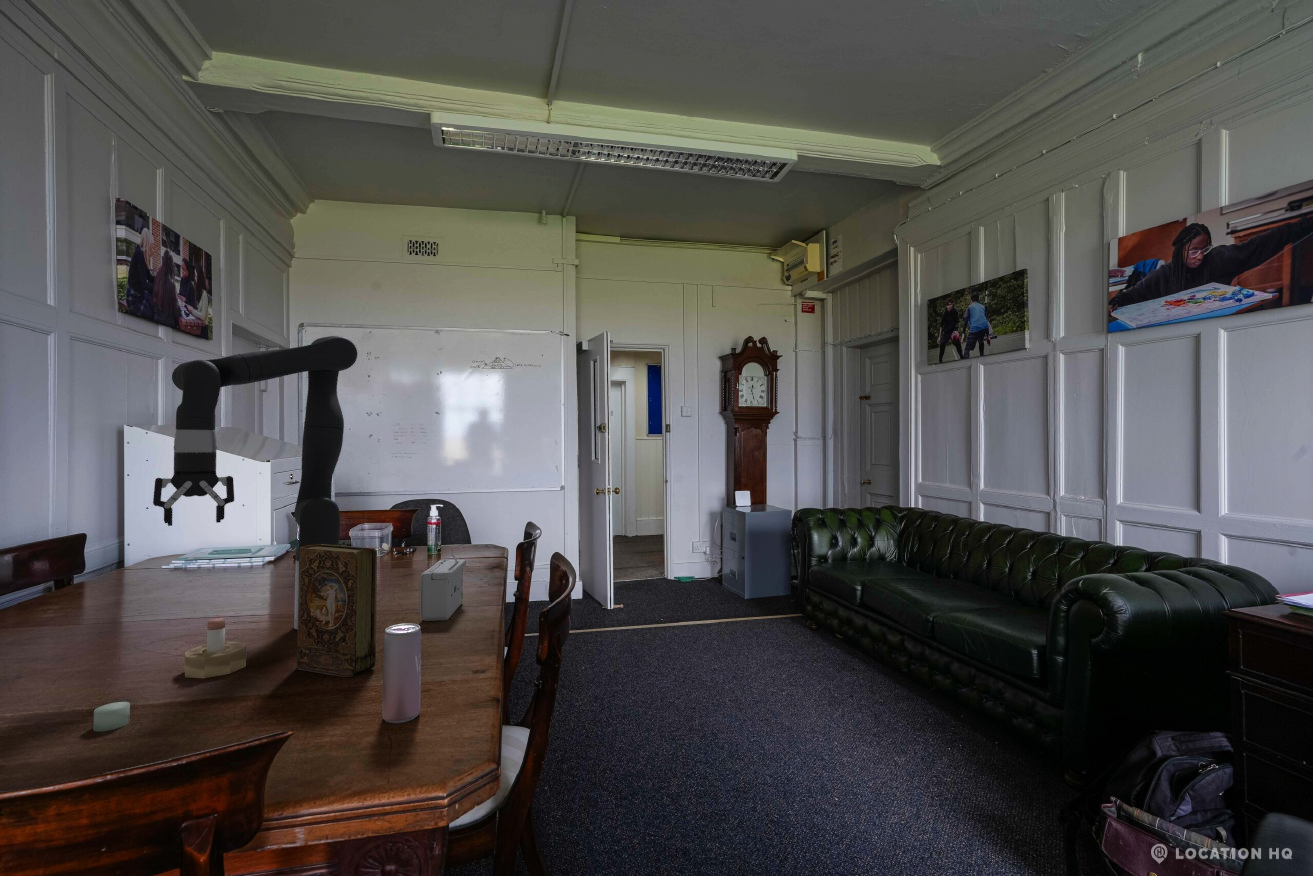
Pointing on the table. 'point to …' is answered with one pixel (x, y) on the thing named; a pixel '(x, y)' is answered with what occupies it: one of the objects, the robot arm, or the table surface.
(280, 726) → the table surface
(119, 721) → the bead
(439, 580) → the stereo radio cassette player
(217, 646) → the grey cylinder
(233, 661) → the bead
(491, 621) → the table surface
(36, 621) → the table surface
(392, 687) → the beverage can
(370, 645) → the book
